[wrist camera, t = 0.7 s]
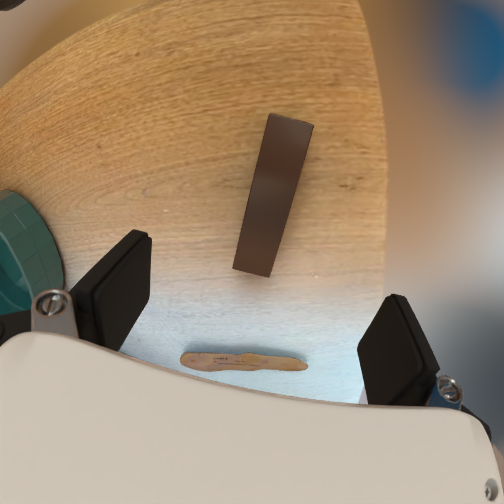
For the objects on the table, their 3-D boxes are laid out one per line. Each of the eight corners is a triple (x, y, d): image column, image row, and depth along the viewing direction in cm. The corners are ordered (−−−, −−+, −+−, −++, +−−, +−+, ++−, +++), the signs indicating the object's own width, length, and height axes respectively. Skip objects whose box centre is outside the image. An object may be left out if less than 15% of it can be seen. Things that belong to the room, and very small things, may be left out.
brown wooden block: (270, 112, 20) (269, 112, 17) (308, 123, 20) (314, 124, 17) (237, 248, 26) (232, 269, 22) (270, 256, 26) (269, 278, 23)
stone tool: (309, 346, 30) (176, 342, 31) (310, 358, 29) (174, 353, 30) (305, 364, 33) (187, 361, 35) (306, 376, 32) (185, 371, 34)
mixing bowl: (-18, 182, 24) (-51, 199, 19) (58, 199, 25) (18, 224, 19) (1, 282, 32) (-22, 305, 27) (75, 318, 33) (51, 350, 27)
